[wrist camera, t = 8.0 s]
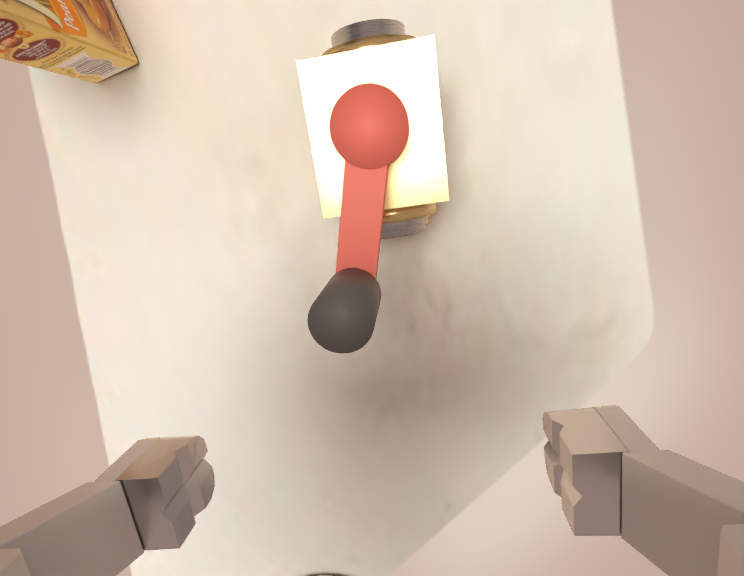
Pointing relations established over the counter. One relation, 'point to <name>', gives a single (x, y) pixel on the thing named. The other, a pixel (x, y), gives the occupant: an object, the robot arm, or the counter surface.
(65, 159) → the counter surface
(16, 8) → the candy box
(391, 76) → the valve
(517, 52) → the counter surface
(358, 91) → the lever
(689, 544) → the robot arm
